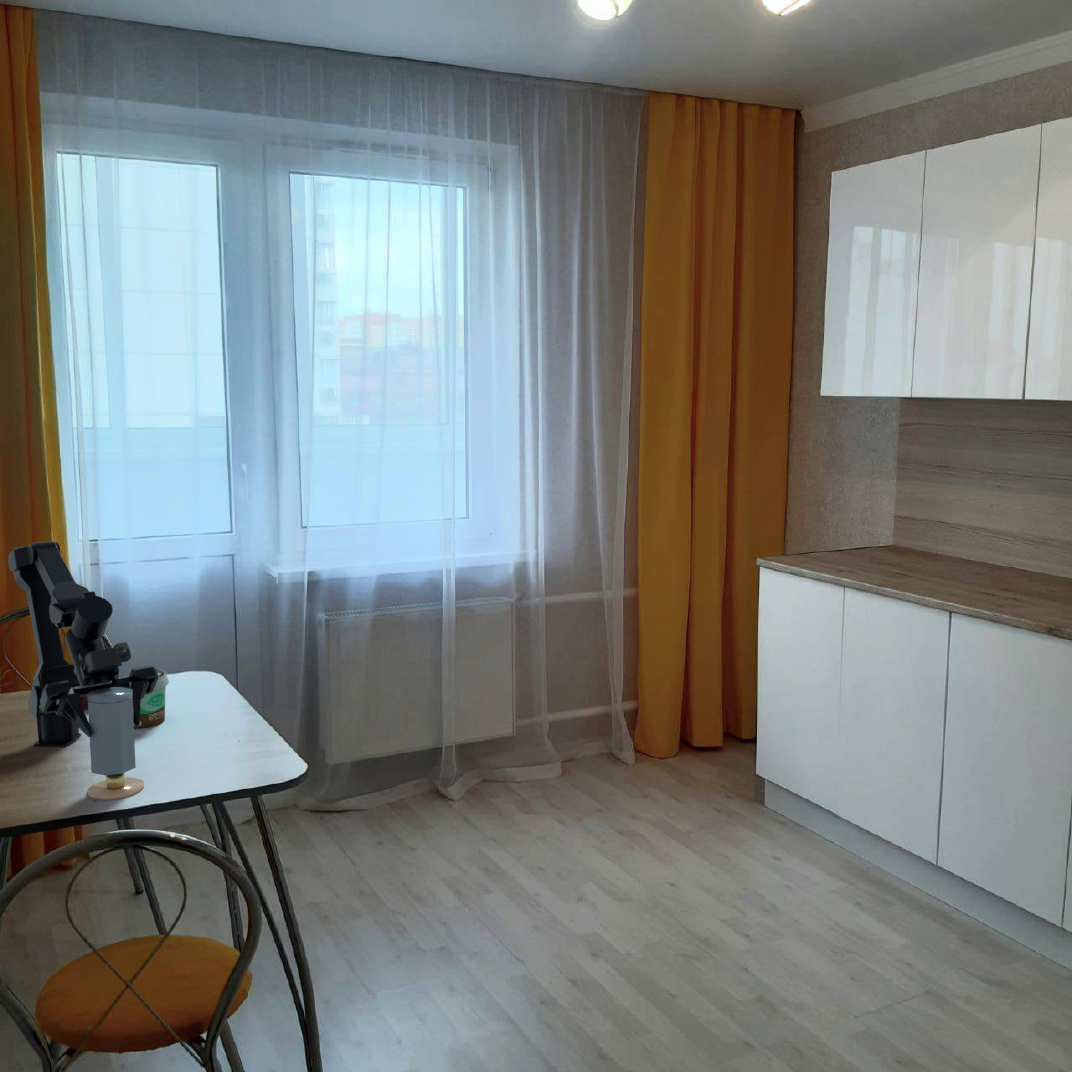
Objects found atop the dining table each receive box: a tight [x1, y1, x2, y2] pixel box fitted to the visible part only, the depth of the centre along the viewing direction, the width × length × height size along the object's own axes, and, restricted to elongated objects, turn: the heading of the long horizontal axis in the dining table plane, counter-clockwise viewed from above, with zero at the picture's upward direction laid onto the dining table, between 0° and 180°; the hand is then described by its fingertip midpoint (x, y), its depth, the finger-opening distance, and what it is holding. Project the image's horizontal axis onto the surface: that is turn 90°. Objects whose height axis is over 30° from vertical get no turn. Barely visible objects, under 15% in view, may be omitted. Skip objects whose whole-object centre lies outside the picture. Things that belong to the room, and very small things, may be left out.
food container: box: [134, 668, 170, 731], centre depth 219 cm, size 12×6×10 cm, turn 168°
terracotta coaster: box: [87, 776, 145, 801], centre depth 184 cm, size 9×9×1 cm
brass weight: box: [105, 773, 126, 790], centre depth 184 cm, size 3×3×2 cm
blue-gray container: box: [87, 687, 136, 776], centre depth 182 cm, size 7×7×13 cm
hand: (114, 730), depth 181 cm, fingers closed on blue-gray container, 8 cm apart
